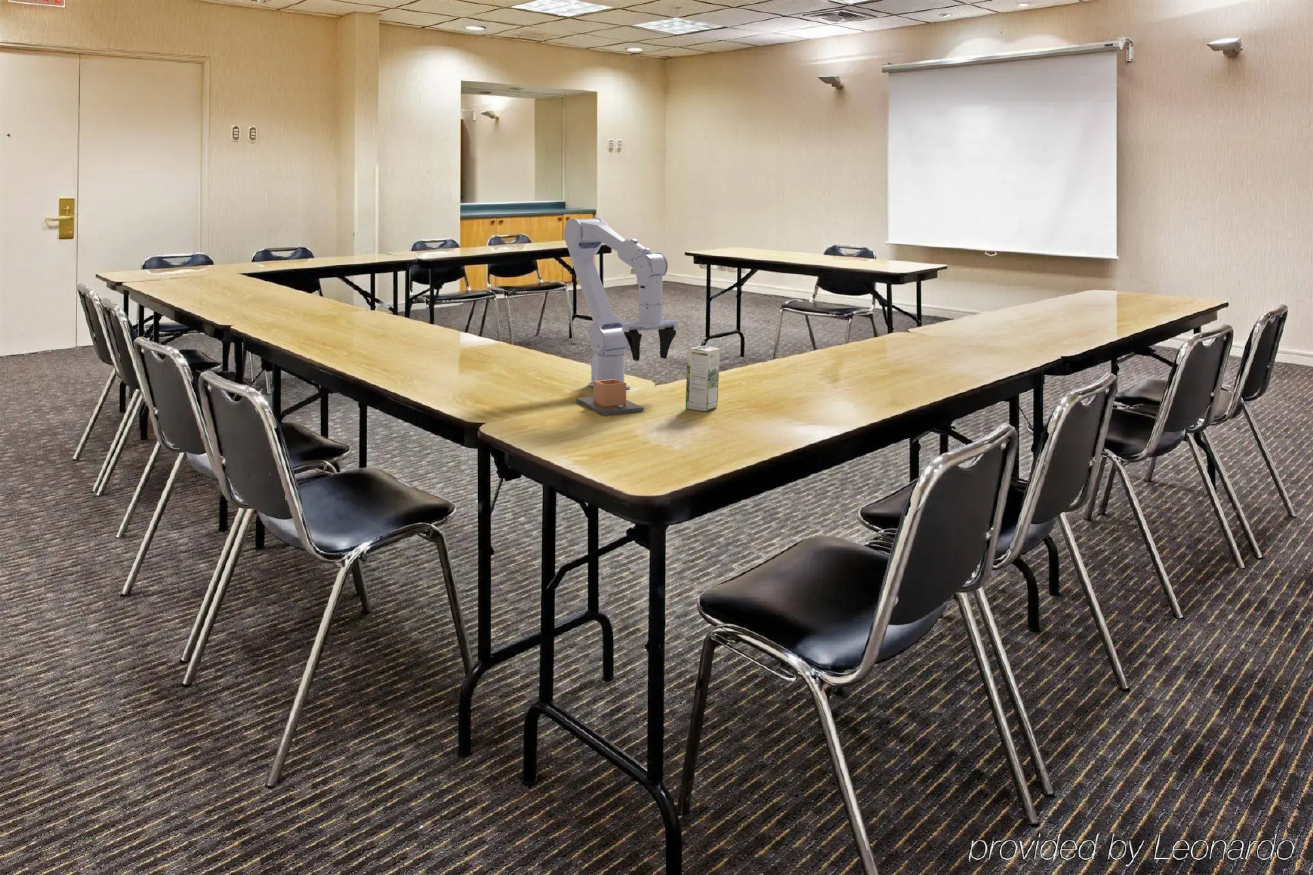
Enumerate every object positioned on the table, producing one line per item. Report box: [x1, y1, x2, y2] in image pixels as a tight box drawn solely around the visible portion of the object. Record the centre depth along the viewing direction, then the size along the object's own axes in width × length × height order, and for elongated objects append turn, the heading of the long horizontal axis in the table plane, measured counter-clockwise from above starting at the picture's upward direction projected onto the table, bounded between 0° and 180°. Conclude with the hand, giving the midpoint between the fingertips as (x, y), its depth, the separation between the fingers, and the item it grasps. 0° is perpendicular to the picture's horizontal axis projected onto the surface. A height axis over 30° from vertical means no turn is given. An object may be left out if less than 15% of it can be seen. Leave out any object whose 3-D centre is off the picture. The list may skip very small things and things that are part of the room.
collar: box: [592, 379, 627, 406], centre depth 231 cm, size 6×6×5 cm
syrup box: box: [685, 345, 721, 412], centre depth 230 cm, size 6×6×14 cm
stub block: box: [575, 395, 645, 417], centre depth 232 cm, size 16×10×3 cm, turn 29°
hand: (649, 359), depth 241 cm, fingers open, 7 cm apart
